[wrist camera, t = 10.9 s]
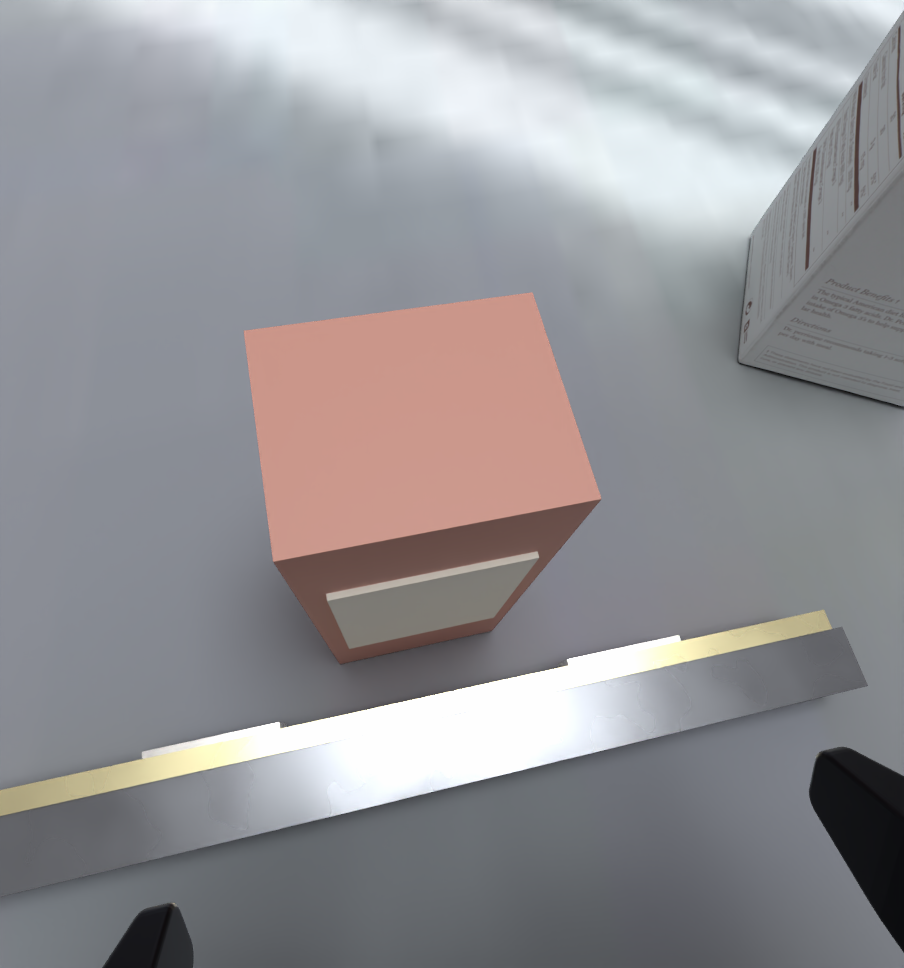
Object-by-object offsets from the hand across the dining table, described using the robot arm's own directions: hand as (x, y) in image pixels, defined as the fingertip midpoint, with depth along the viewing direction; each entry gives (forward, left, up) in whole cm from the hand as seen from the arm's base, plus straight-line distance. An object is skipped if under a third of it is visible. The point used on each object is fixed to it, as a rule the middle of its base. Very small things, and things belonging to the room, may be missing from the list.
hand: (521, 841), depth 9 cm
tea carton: (+2, -6, -11) cm, 13 cm away
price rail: (+1, -1, -11) cm, 11 cm away
